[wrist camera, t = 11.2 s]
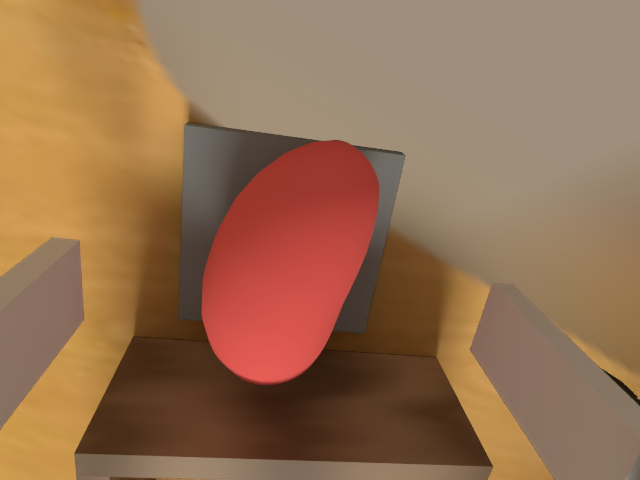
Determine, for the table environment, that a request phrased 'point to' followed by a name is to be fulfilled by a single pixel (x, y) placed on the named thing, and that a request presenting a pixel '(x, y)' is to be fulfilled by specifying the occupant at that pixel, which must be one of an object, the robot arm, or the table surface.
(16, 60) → the table surface
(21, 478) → the table surface
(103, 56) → the table surface
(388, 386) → the walnut box
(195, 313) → the slate mat
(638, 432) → the robot arm
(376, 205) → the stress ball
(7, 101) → the table surface
